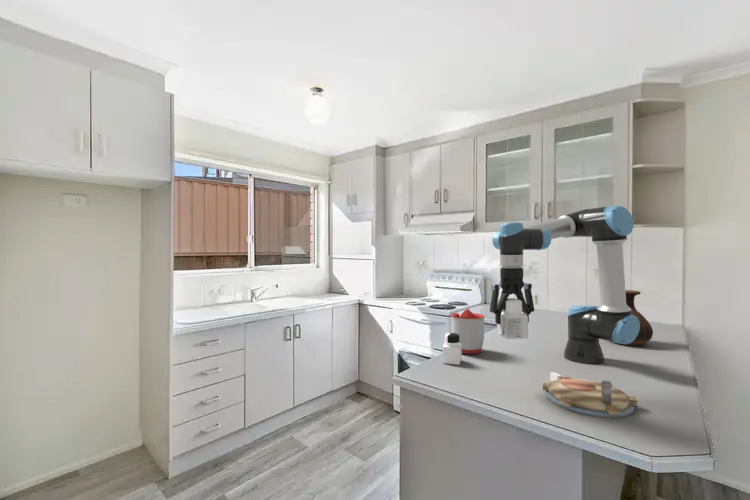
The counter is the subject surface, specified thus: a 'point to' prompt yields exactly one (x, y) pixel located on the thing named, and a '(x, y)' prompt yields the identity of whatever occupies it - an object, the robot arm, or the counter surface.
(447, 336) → the medicine bottle
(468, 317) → the citrus juicer
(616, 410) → the index wheel
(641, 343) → the jug
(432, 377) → the counter surface
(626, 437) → the counter surface
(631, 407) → the wheel base
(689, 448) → the counter surface
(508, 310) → the container
